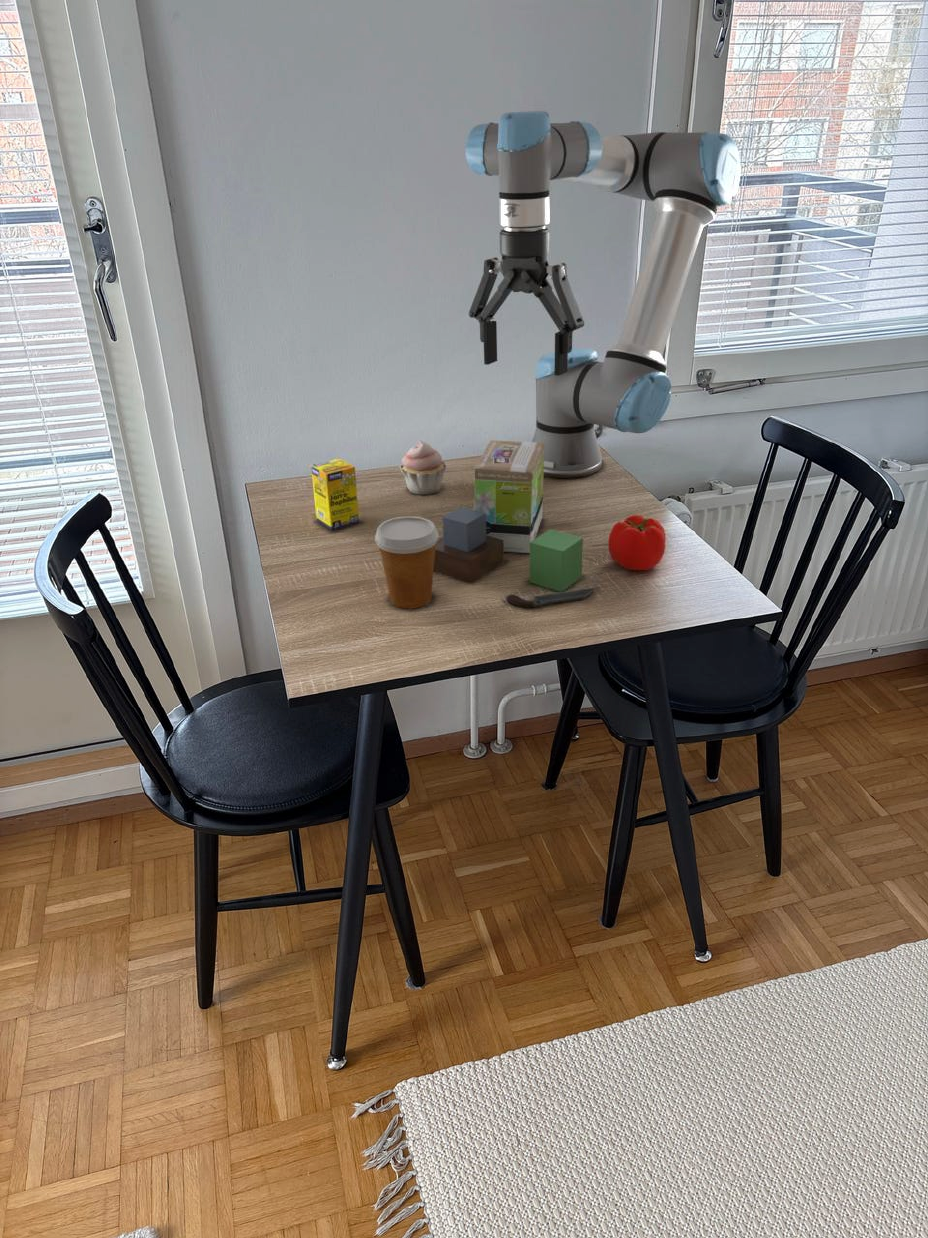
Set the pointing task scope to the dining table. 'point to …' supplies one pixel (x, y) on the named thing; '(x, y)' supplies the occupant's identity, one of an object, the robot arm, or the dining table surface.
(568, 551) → the green block
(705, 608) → the dining table surface
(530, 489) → the tea box
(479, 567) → the walnut plinth
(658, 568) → the dining table surface
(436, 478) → the cupcake
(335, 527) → the supplement box
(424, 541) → the disposable coffee cup
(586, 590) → the knife
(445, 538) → the slate block
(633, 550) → the tomato
